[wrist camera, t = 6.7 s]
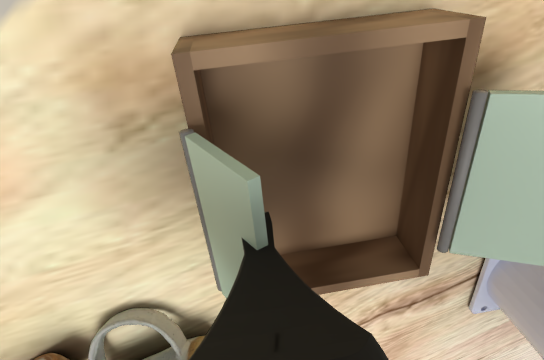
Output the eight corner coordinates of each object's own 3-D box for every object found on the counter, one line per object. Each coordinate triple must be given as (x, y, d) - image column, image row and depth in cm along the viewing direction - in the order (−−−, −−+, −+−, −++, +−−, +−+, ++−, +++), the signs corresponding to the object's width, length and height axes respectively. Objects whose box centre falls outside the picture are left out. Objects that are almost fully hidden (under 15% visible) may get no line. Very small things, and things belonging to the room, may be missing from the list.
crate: (433, 8, 15) (486, 17, 12) (399, 235, 22) (428, 275, 19) (180, 37, 14) (171, 54, 11) (228, 263, 21) (230, 310, 18)
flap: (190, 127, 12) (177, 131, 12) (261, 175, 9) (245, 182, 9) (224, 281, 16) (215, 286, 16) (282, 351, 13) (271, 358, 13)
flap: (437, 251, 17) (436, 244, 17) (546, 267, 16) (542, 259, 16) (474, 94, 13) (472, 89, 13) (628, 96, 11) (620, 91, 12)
